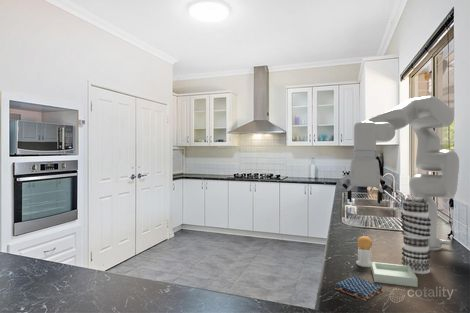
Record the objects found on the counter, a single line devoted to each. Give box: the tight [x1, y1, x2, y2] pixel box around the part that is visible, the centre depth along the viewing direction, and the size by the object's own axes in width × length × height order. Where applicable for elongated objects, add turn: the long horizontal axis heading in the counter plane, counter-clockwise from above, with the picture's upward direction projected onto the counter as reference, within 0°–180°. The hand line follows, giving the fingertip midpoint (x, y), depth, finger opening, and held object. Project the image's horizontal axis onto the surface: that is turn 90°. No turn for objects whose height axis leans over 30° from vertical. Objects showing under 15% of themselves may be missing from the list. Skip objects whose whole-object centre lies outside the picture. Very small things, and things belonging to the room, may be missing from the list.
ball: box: [357, 235, 373, 250], centre depth 115 cm, size 5×5×5 cm
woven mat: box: [334, 276, 384, 301], centre depth 93 cm, size 10×11×2 cm
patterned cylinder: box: [400, 196, 431, 275], centre depth 110 cm, size 9×9×25 cm
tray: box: [370, 261, 419, 288], centre depth 103 cm, size 12×12×2 cm
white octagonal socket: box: [355, 246, 372, 268], centre depth 115 cm, size 6×6×6 cm
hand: (364, 202), depth 115 cm, fingers open, 9 cm apart
